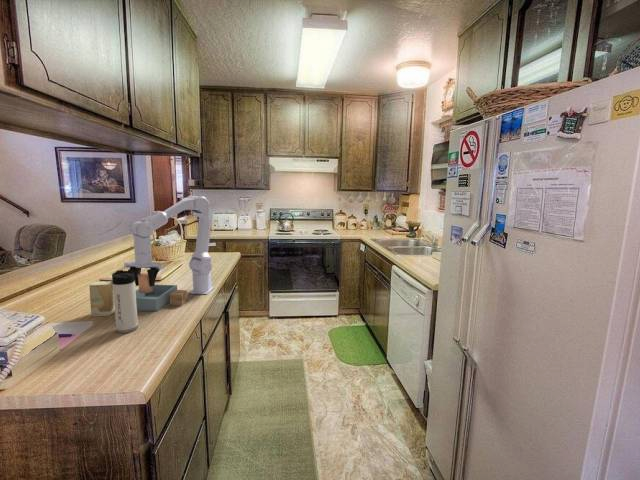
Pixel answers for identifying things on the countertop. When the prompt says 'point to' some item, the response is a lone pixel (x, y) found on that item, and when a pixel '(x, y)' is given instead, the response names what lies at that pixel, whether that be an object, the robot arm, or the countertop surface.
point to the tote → (154, 298)
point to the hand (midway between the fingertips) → (145, 285)
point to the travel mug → (125, 301)
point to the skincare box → (101, 298)
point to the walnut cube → (178, 297)
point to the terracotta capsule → (144, 283)
